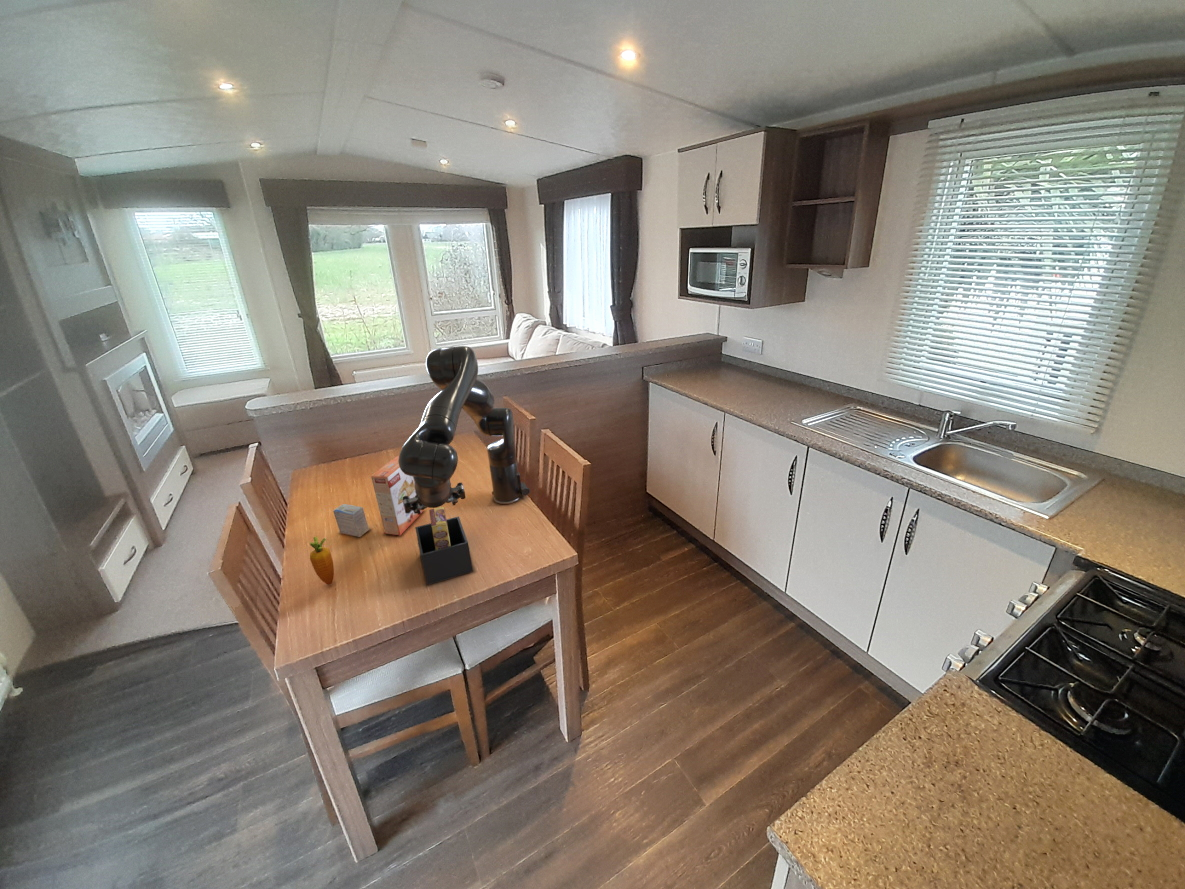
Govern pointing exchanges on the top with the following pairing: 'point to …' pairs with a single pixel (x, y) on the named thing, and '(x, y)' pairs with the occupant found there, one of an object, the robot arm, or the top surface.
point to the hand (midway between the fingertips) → (435, 506)
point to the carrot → (322, 561)
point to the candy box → (439, 528)
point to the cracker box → (394, 497)
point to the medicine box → (351, 520)
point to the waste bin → (444, 553)
